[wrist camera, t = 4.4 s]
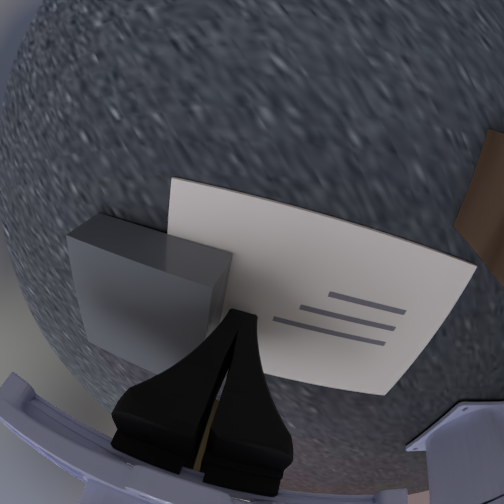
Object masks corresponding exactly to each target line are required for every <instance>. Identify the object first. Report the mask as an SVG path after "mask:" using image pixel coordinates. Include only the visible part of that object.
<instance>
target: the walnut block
mask: <svg viewBox="0 0 504 504" xmlns="http://www.w3.org/2000/svg"><path fill="white" fill-rule="evenodd" d="M453 227H454V228H455V229H456V230H457V231H458V232H459V233H460V235H461V236H462V237H463V238H464V239H465V240H466V241H467V243H468V244H469V245H470V246H471V247H472V248H473V250H474V251H475V252H476V253H477V254H478V256H479V257H480V258H481V259H482V261H483V262H484V263H485V264H486V266H487V267H488V268H489V269H490V271H491V272H492V273H493V275H494V276H495V277H496V279H497V280H498V281H499V283H500V284H501V285H502V287H503V288H504V133H501V132H498V131H494V130H491V129H487V133H486V136H485V140H484V143H483V147H482V150H481V153H480V156H479V159H478V162H477V165H476V168H475V171H474V174H473V177H472V180H471V182H470V185H469V188H468V190H467V193H466V196H465V198H464V201H463V203H462V205H461V208H460V210H459V213H458V215H457V217H456V220H455V222H454V224H453Z"/></svg>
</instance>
